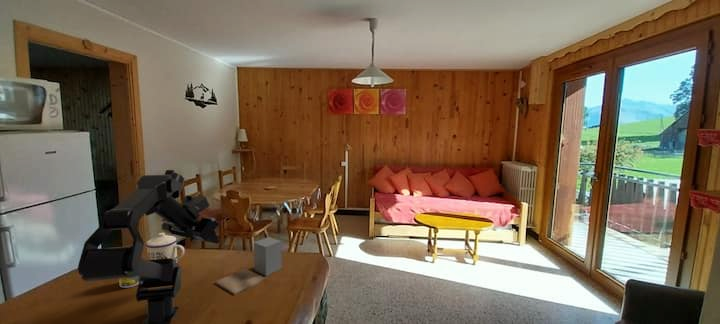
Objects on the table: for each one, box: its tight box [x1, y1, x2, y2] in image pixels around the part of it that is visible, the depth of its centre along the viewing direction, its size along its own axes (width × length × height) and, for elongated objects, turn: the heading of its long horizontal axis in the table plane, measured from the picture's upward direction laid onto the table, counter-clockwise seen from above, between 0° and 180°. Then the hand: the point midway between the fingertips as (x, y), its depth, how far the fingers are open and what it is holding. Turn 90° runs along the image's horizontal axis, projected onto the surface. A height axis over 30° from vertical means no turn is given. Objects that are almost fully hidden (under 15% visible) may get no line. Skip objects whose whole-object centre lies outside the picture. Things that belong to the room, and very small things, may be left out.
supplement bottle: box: [118, 278, 139, 289], centre depth 94 cm, size 6×6×10 cm
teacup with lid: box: [145, 232, 185, 263], centre depth 107 cm, size 12×9×12 cm
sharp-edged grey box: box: [253, 236, 283, 277], centre depth 105 cm, size 6×6×10 cm
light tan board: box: [214, 268, 267, 296], centre depth 97 cm, size 11×11×1 cm
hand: (208, 240), depth 94 cm, fingers open, 9 cm apart
